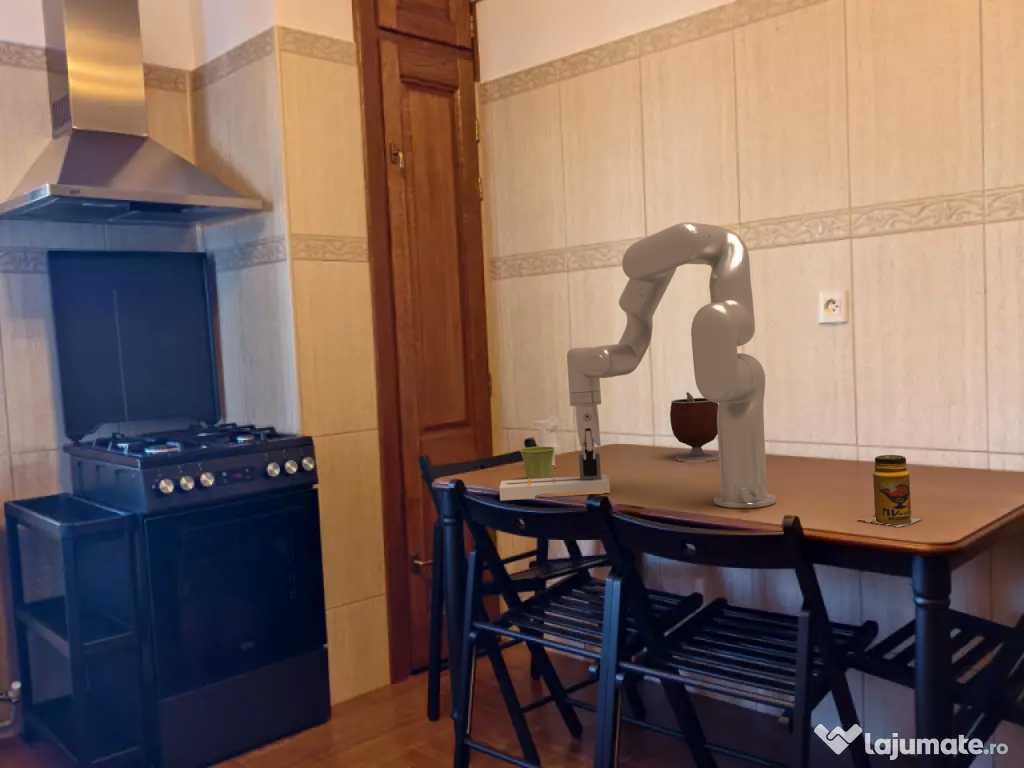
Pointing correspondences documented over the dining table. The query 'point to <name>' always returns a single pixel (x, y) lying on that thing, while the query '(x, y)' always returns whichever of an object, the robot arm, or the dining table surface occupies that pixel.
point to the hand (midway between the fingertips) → (590, 473)
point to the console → (550, 486)
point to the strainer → (549, 434)
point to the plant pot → (537, 461)
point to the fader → (581, 458)
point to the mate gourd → (694, 425)
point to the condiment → (892, 491)
